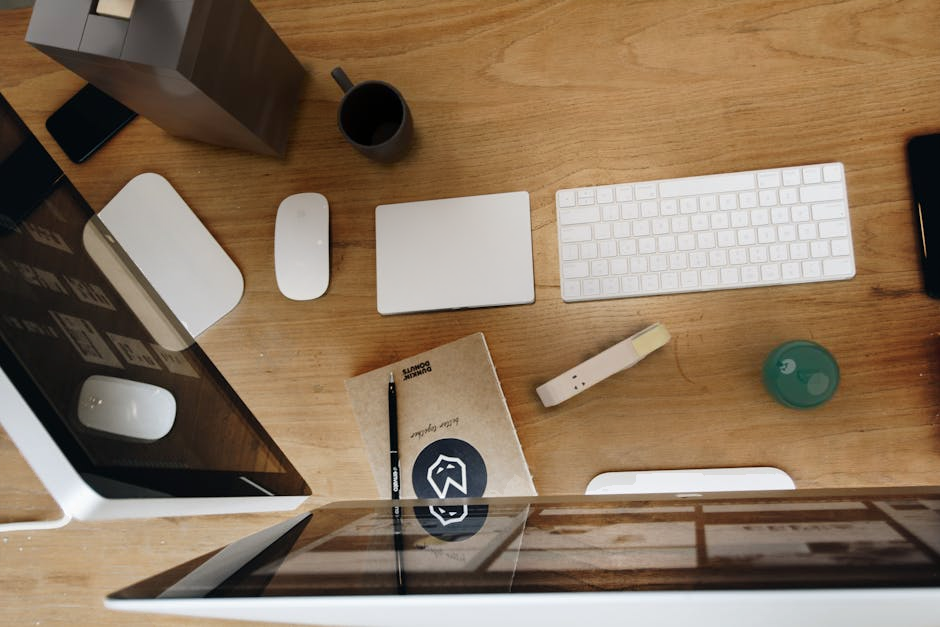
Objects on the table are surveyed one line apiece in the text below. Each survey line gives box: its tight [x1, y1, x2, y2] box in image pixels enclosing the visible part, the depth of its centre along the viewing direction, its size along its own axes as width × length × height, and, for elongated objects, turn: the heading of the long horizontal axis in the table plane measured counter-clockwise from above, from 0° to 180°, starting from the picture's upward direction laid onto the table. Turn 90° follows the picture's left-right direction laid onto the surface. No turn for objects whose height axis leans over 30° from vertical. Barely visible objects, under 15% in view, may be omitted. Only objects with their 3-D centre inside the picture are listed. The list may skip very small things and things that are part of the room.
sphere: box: [760, 338, 842, 413], centre depth 76 cm, size 8×8×8 cm
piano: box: [24, 0, 307, 159], centre depth 79 cm, size 16×12×26 cm
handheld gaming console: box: [535, 322, 672, 408], centre depth 79 cm, size 11×3×15 cm
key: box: [96, 0, 136, 21], centre depth 67 cm, size 4×4×2 cm
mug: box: [330, 66, 415, 164], centre depth 84 cm, size 8×12×10 cm
